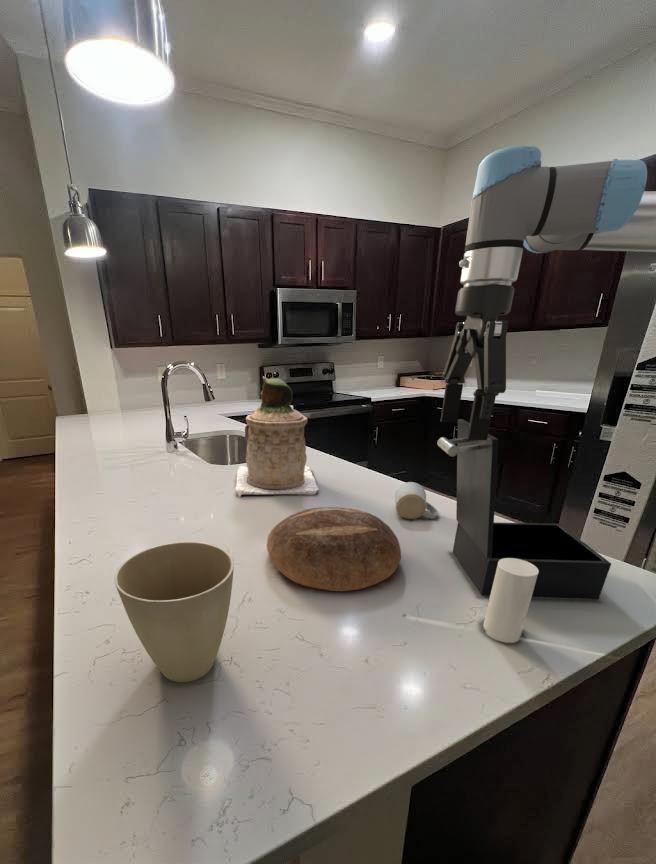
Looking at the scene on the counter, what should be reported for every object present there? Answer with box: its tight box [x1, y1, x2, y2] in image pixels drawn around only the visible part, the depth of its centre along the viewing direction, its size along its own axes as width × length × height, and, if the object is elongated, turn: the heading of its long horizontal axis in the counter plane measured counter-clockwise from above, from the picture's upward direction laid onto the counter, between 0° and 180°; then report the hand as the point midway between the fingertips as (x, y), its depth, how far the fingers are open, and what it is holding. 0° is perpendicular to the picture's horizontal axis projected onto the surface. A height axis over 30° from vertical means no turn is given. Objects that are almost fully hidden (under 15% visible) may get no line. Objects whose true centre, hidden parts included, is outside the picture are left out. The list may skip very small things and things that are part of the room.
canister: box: [482, 558, 539, 644], centre depth 63 cm, size 5×5×12 cm
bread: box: [266, 506, 402, 592], centre depth 85 cm, size 26×27×10 cm
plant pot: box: [114, 541, 235, 683], centre depth 57 cm, size 15×15×16 cm
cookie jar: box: [234, 376, 319, 498], centre depth 124 cm, size 25×25×32 cm
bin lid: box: [436, 418, 499, 558], centre depth 74 cm, size 20×16×6 cm
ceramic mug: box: [394, 481, 439, 520], centre depth 105 cm, size 11×8×8 cm
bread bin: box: [452, 521, 612, 600], centre depth 78 cm, size 20×16×8 cm
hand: (461, 430), depth 70 cm, fingers open, 13 cm apart
